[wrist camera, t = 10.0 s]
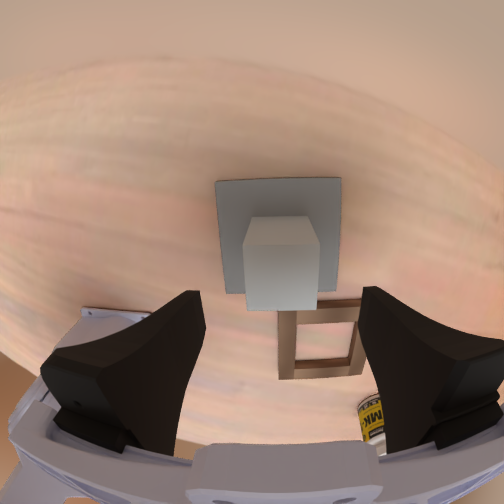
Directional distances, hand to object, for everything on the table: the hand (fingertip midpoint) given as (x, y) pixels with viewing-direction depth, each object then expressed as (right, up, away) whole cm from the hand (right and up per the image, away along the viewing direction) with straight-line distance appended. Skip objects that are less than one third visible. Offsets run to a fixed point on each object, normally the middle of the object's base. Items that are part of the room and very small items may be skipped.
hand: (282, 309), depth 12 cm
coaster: (+1, +4, +9) cm, 10 cm away
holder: (+5, -6, +12) cm, 15 cm away
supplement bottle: (+14, -16, +16) cm, 27 cm away
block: (+1, +3, +9) cm, 9 cm away
